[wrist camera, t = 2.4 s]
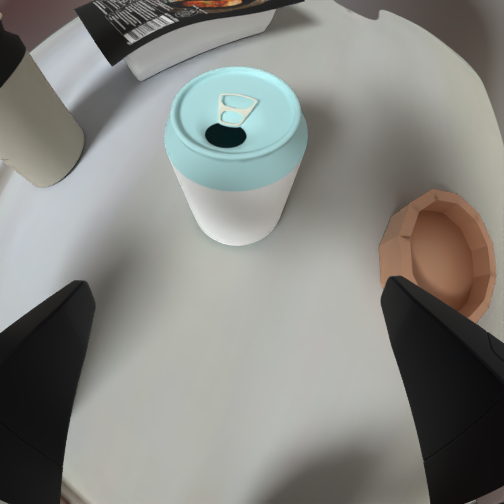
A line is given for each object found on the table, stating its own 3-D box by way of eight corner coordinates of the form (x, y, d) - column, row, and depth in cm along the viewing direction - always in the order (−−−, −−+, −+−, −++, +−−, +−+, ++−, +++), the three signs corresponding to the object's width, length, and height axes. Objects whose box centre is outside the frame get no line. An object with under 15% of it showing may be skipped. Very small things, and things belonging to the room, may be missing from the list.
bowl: (380, 336, 21) (402, 338, 17) (373, 198, 23) (391, 181, 20) (474, 324, 21) (497, 323, 18) (464, 211, 24) (484, 200, 20)
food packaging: (306, -4, 21) (109, 61, 18) (297, 40, 29) (132, 111, 25) (202, -43, 25) (72, 6, 22) (204, -12, 33) (85, 37, 29)
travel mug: (74, 114, 25) (4, 4, 7) (96, 152, 24) (2, 18, 6) (24, 159, 23) (-64, 70, 6) (39, 203, 22) (-81, 110, 5)
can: (295, 227, 23) (345, 142, 11) (212, 261, 22) (181, 199, 10) (259, 157, 24) (272, 47, 12) (183, 185, 23) (142, 83, 11)
